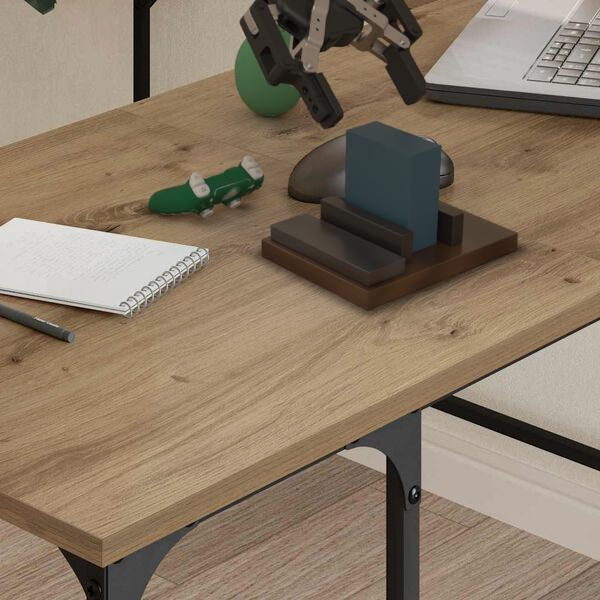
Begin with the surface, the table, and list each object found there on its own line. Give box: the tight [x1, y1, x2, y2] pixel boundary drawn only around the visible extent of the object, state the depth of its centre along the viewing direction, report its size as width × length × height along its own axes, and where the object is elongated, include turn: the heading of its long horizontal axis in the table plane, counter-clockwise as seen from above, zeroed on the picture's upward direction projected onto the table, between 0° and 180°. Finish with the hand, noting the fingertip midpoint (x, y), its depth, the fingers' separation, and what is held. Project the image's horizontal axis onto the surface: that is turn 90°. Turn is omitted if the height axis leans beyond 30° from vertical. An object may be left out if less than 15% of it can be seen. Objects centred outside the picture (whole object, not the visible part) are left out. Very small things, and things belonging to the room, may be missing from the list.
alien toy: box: [234, 26, 302, 117], centre depth 136 cm, size 7×8×10 cm
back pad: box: [344, 120, 443, 253], centre depth 107 cm, size 3×7×8 cm, turn 41°
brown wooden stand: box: [260, 195, 519, 311], centre depth 109 cm, size 16×12×4 cm
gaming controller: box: [147, 154, 265, 219], centre depth 116 cm, size 9×4×6 cm
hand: (377, 111), depth 106 cm, fingers open, 8 cm apart
